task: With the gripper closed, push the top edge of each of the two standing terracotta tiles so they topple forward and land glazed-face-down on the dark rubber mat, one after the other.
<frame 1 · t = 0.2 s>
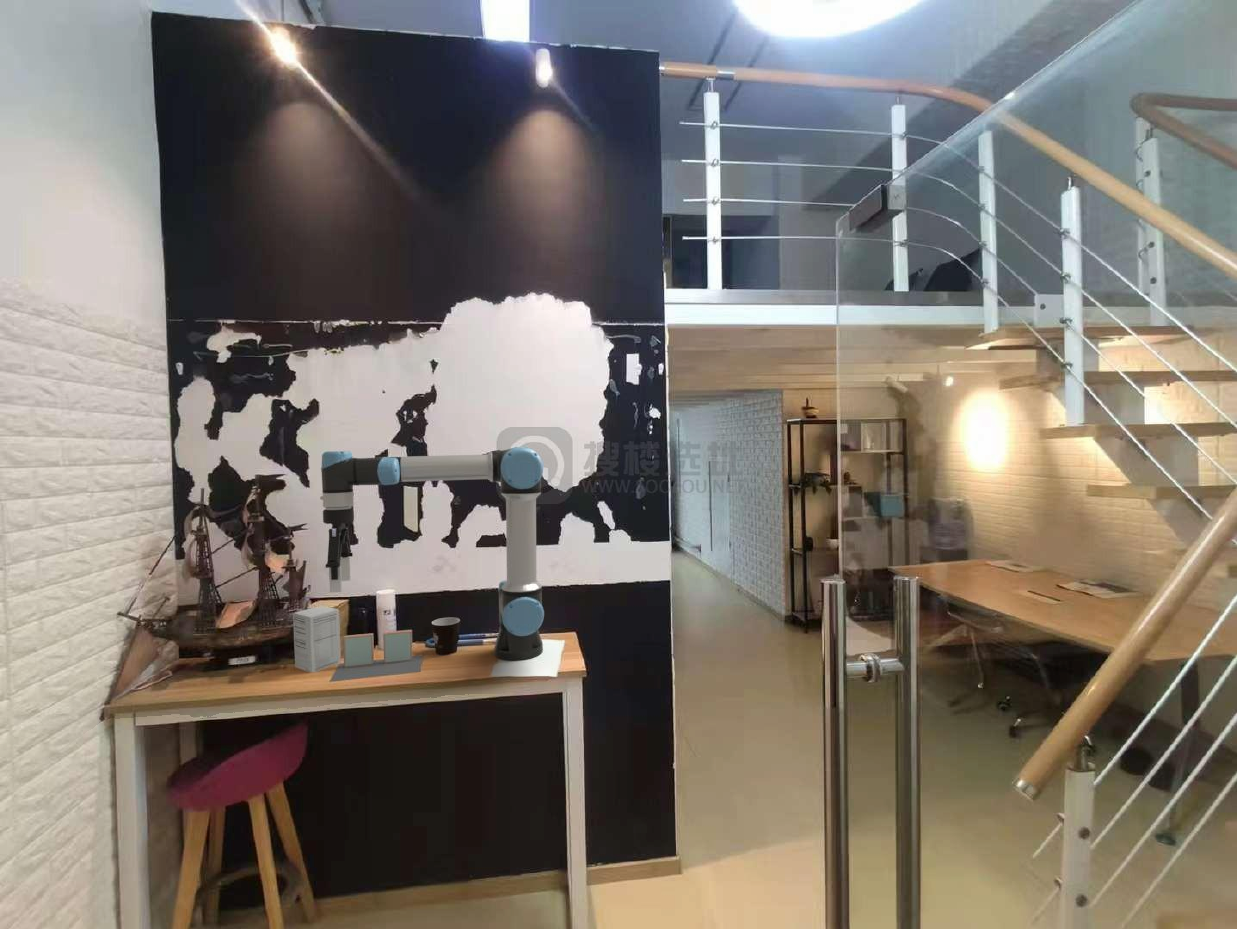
hand: (340, 586, 159), 28 cm above the table, fingers open, 13 cm apart
supplement box: (318, 667, 176), on the table
tile a: (398, 661, 178), resting on mat
mat: (379, 669, 173), on the table
tile b: (359, 665, 175), resting on mat
coffee mug: (446, 654, 184), on the table
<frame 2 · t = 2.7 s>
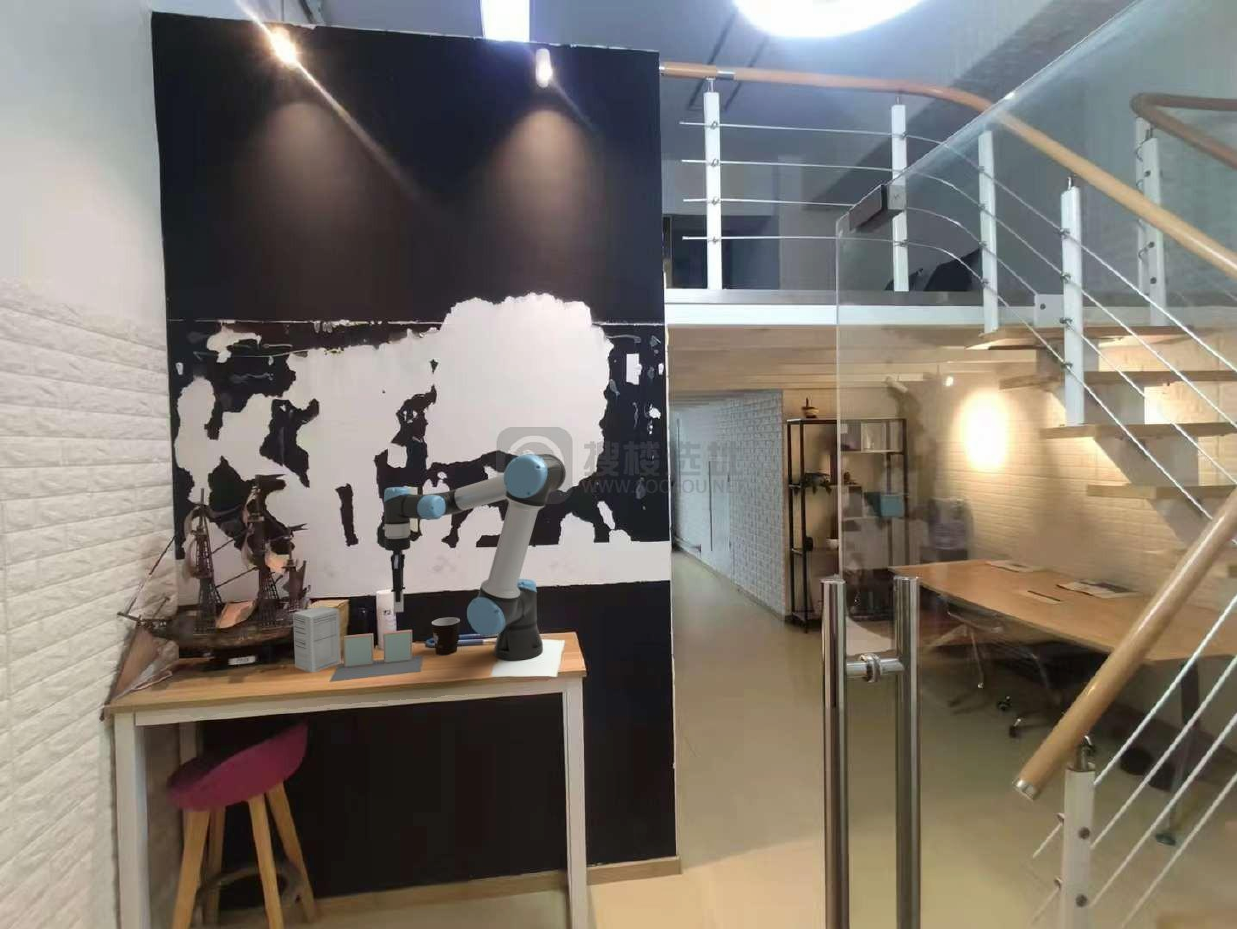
hand: (398, 611, 184), 14 cm above the table, fingers closed
nothing on the table moved.
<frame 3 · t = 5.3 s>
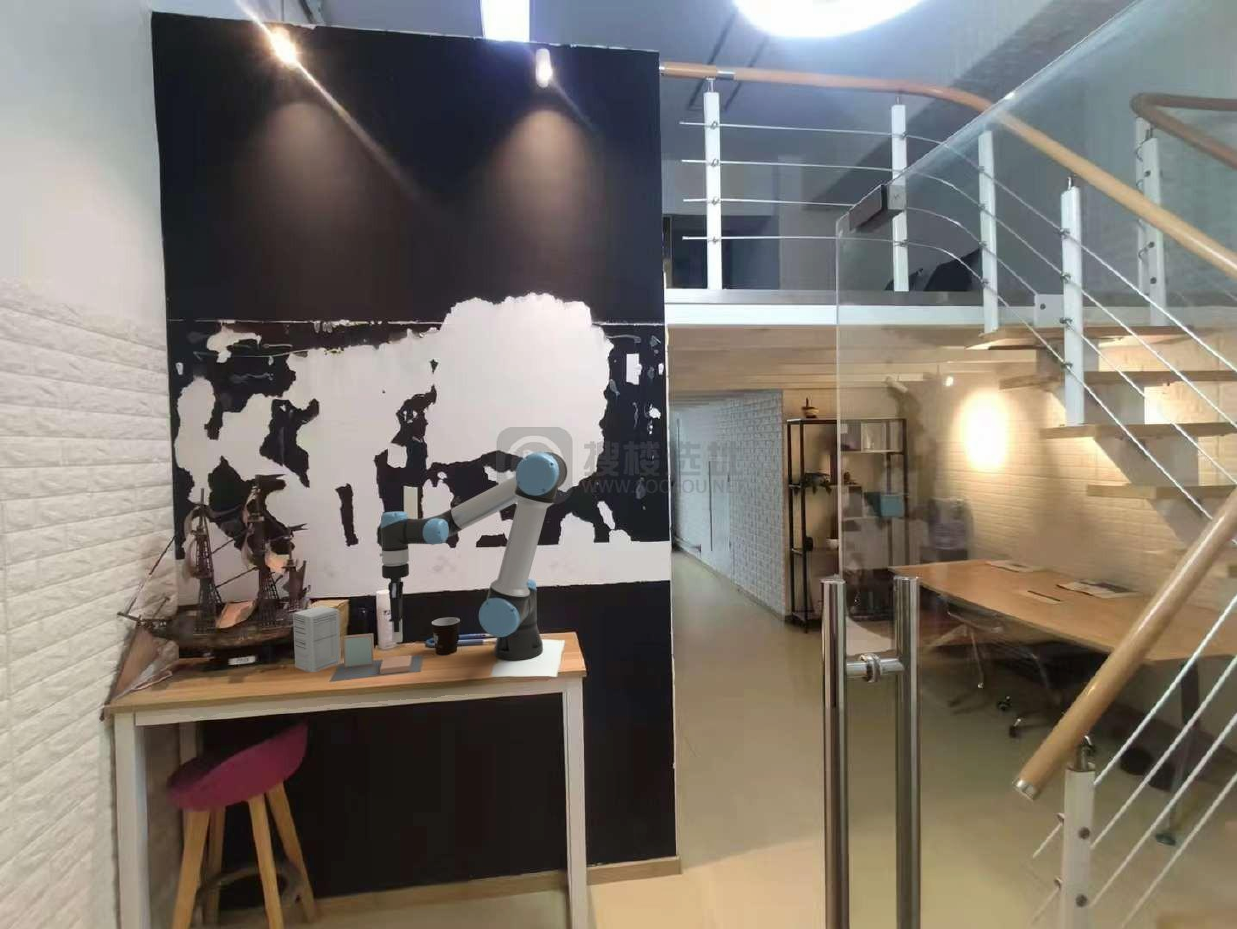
hand: (397, 641, 176), 7 cm above the table, fingers closed
tile a: (398, 659, 177), point 1 cm above the table, tilted 90°, touching mat
everything else where it was.
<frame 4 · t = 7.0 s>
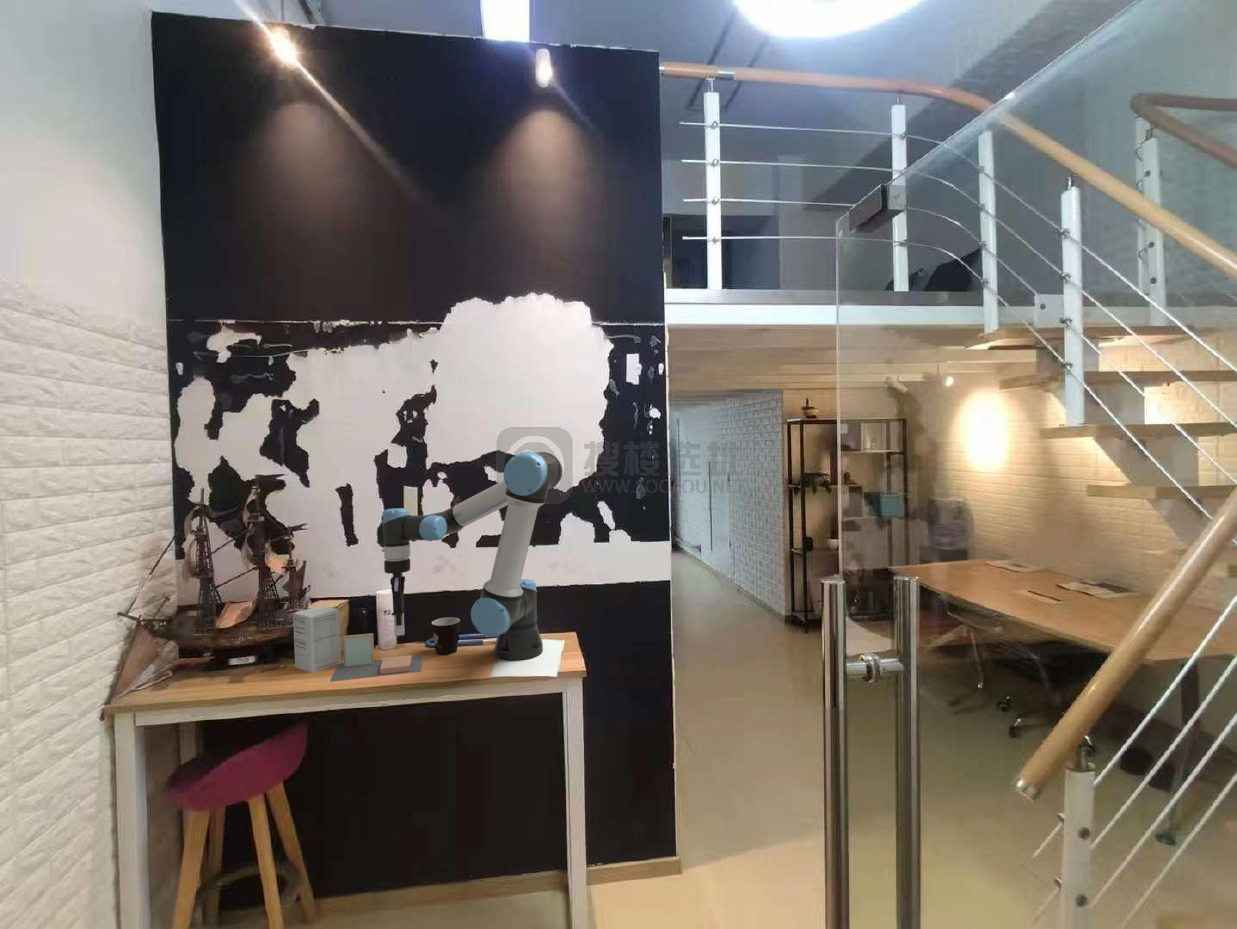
hand: (399, 634, 181), 7 cm above the table, fingers closed
nothing on the table moved.
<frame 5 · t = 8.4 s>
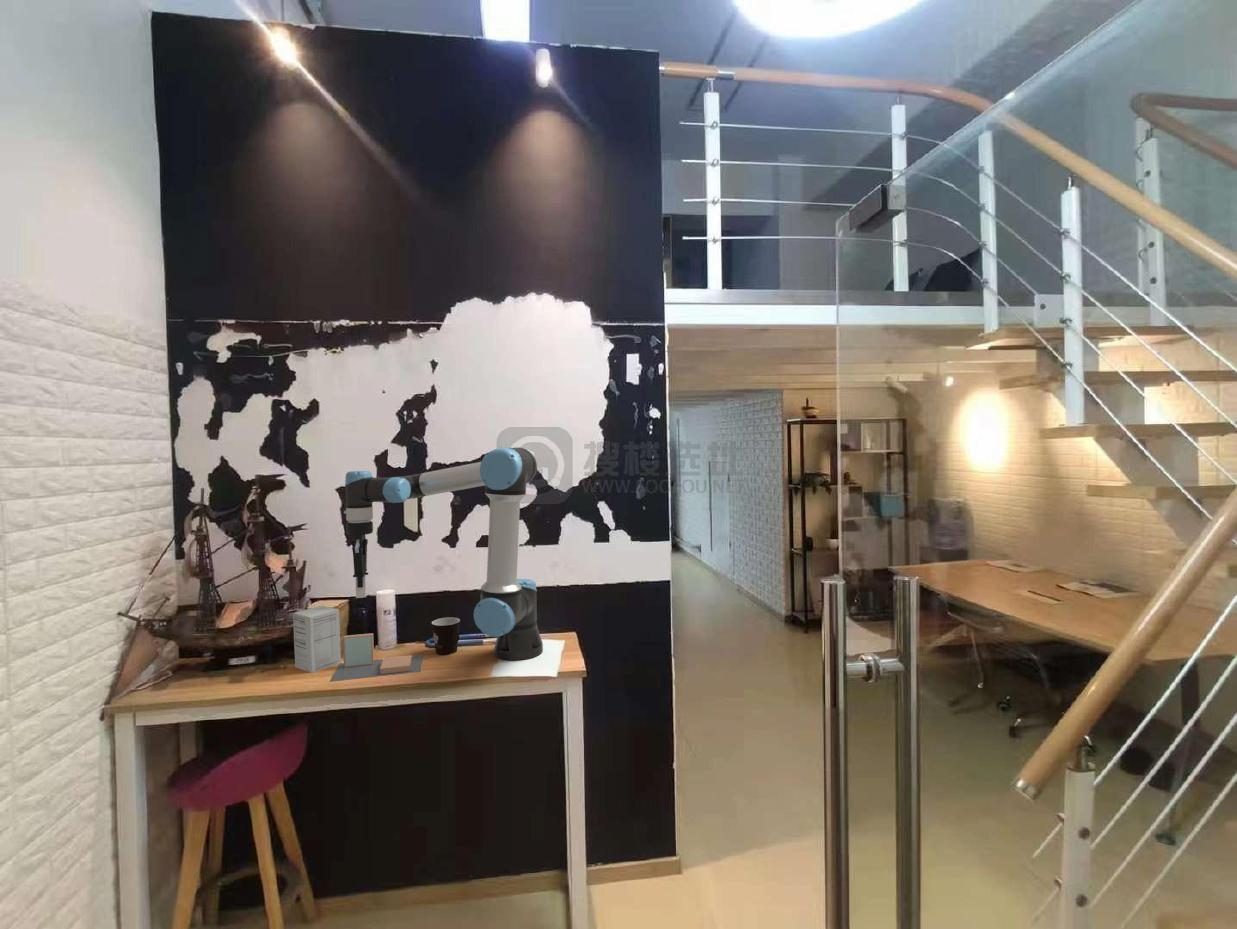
hand: (361, 597, 181), 19 cm above the table, fingers closed
nothing on the table moved.
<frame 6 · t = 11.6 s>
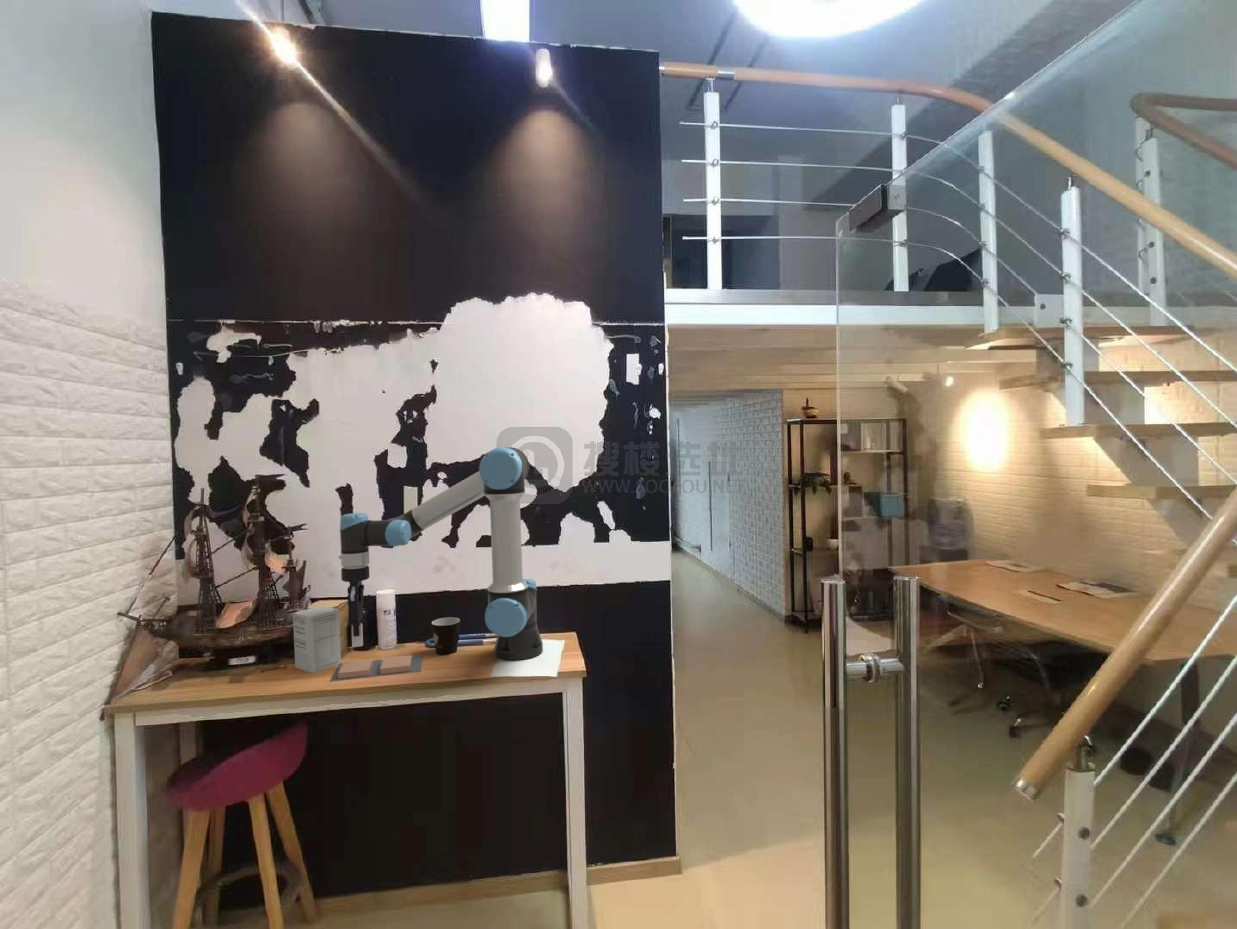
hand: (357, 645, 173), 7 cm above the table, fingers closed
tile b: (358, 663, 174), point 1 cm above the table, tilted 90°, touching mat
everything else where it was.
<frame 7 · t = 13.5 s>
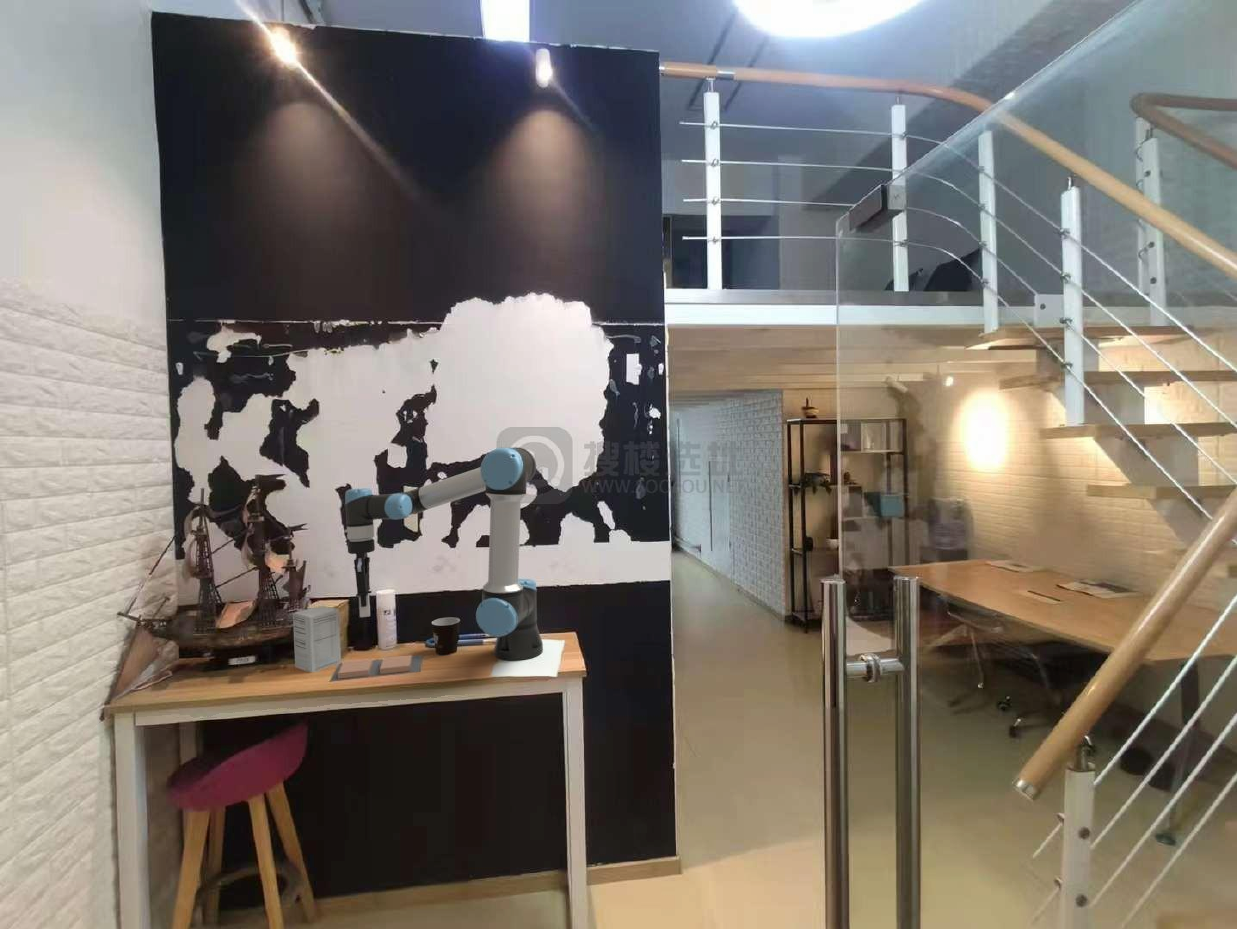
hand: (365, 616, 179), 14 cm above the table, fingers closed
nothing on the table moved.
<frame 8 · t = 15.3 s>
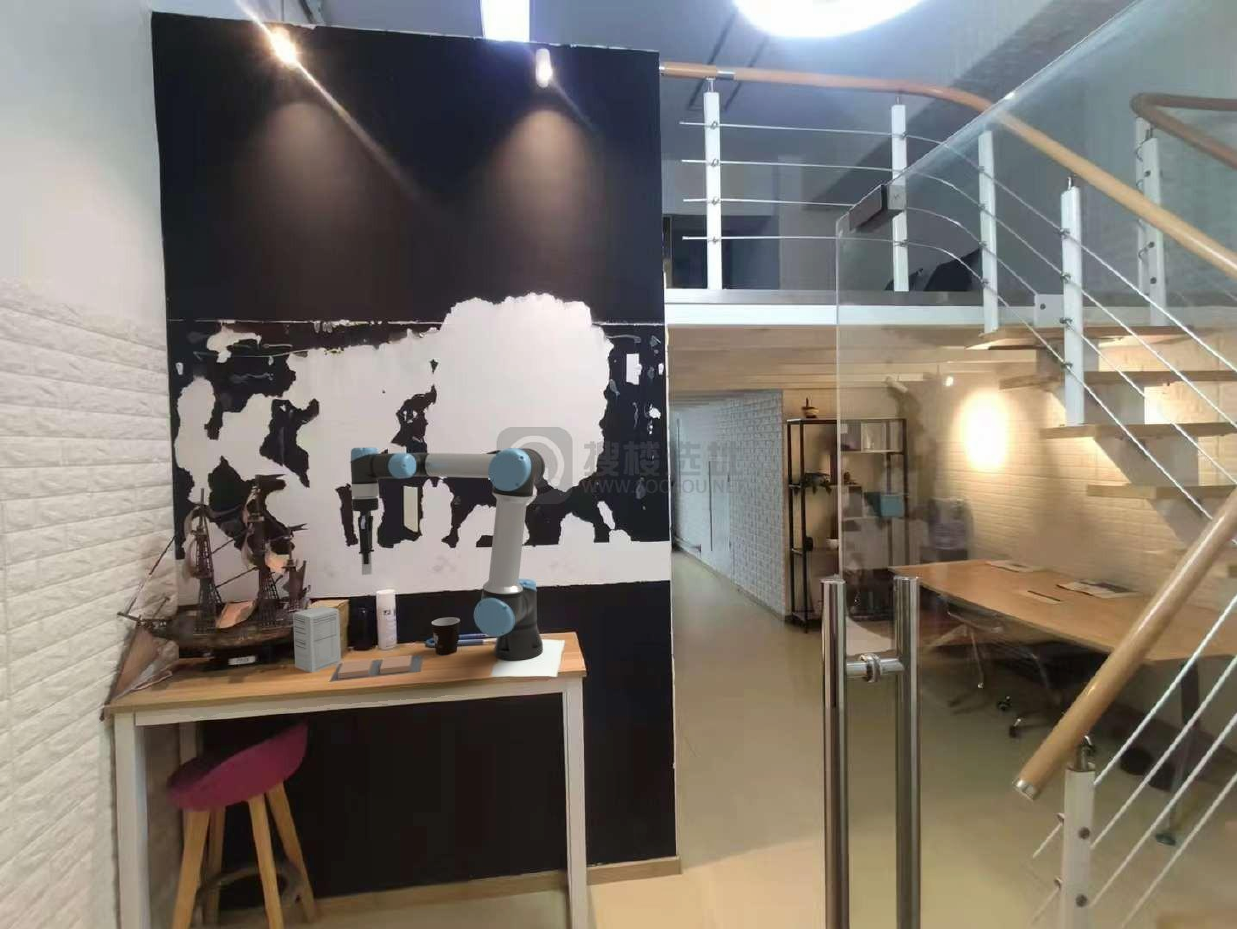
hand: (367, 574, 181), 26 cm above the table, fingers closed
nothing on the table moved.
at the end: tile a tilted 90°; tile b tilted 90°; tile b inside the target area on the mat (6.8 cm from its centre), point 1.3 cm above the mat's base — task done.
